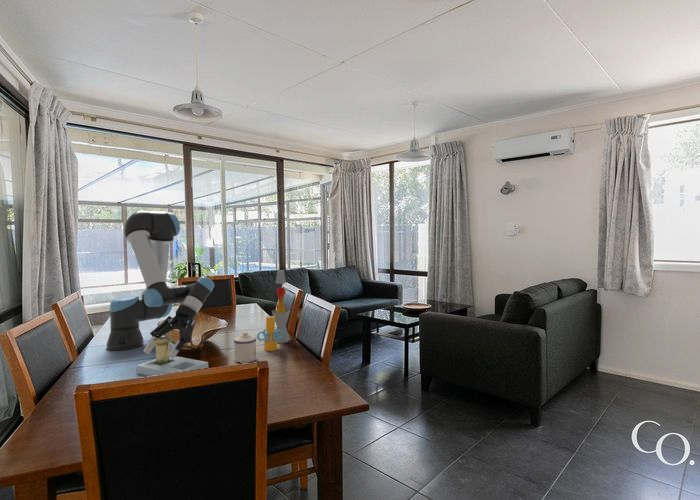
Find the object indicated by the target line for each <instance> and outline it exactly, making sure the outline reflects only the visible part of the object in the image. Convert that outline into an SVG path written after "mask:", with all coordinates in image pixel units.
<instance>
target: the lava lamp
mask: <svg viewBox="0 0 700 500" xmlns="http://www.w3.org/2000/svg"><path fill="white" fill-rule="evenodd" d="M275 278H276V280H275V284H278V285H279V284H280V285H282V284H286V283H287V282H286V281H287V280H286V277H285V272H284V270H279V269H278V270H277V272H276V277H275ZM276 294H277V298H278V302H277V303H276V304H275V307H276V309H273V310H271V314H272V316H275V329H276V331H277V330H282V331H283V332H284V336H283V338H281V339H278V341H277V344H286V343H289V342H290V341H291V338H290V336H289V333H288V330H287V327H286V325H287V322H288V319H289V316H290V313H291V310H290V309H287V308H286V309H285V307H284V306H285V305H284V297H285V294H286V289H285V288H284V287H282V286H281V287H278V288H277V289H276ZM277 333H278V336H279V337H281V336H282V332H277ZM276 336H277V335H276ZM276 339H277V338H276ZM289 340H290V341H289ZM288 341H289V342H288ZM285 342H286V343H285Z"/></svg>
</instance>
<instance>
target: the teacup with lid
mask: <svg viewBox="0 0 700 500" xmlns="http://www.w3.org/2000/svg"><path fill="white" fill-rule="evenodd" d="M256 341H257V337H256V336H255V335H254V336H253V335H251V334H248V332H247V331H244V332H242V334H240V335H239V336H237V337H236V336H235V338H234V339H233V342H234V345H233V346H234V361H235V362H236V363H237V362H240V363H239V364H247V363H252V362H254V361H256V359H257V352H256V351H257V348H256V346H257V345H256V343H257V342H256Z"/></svg>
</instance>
